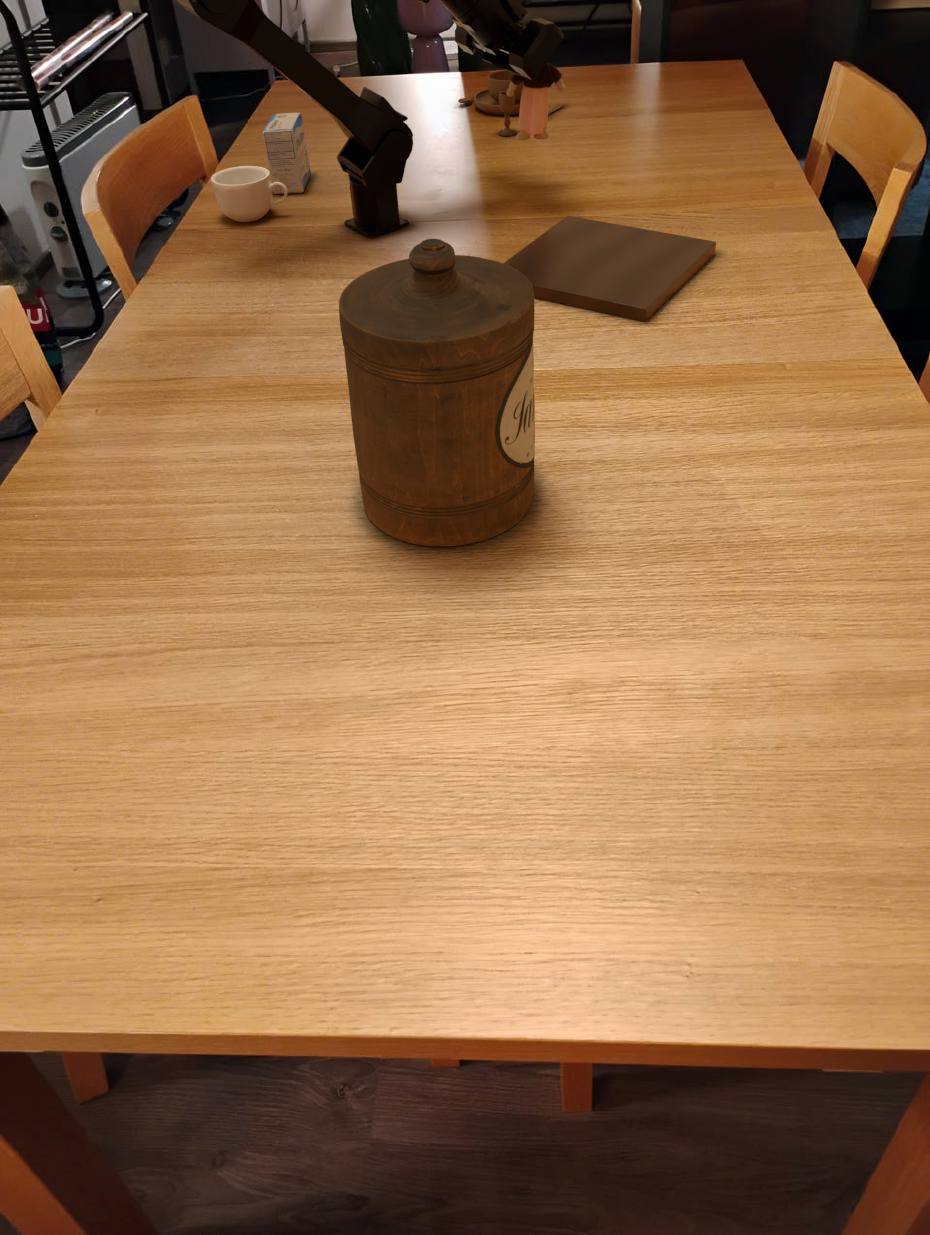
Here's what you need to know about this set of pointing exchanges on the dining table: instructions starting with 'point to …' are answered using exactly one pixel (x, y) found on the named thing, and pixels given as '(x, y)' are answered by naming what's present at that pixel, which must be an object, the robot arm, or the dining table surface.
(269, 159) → the medicine box
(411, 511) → the wooden container
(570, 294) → the stand board
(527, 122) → the grandmother figurine
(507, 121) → the place setting
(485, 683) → the dining table surface
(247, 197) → the teacup
